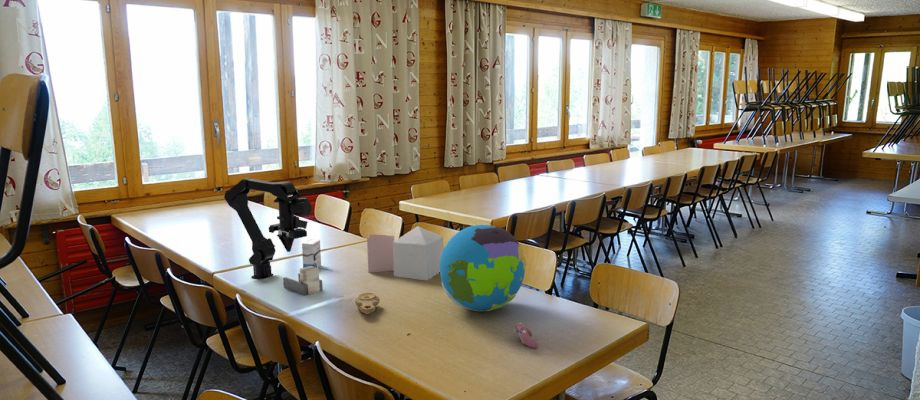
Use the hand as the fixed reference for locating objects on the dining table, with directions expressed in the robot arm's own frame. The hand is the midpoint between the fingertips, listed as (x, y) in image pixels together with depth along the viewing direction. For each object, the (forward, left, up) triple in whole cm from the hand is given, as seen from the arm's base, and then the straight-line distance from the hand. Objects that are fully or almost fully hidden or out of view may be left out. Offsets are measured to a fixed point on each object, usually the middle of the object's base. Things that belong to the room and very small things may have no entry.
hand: (288, 251), depth 247 cm
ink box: (-2, +18, -12) cm, 22 cm away
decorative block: (+45, +27, -12) cm, 54 cm away
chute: (+13, -10, -12) cm, 20 cm away
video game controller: (+106, -26, -12) cm, 110 cm away
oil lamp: (+47, -19, -12) cm, 52 cm away
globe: (+84, -4, -12) cm, 85 cm away
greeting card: (+28, +24, -12) cm, 39 cm away
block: (+18, -11, -11) cm, 24 cm away
